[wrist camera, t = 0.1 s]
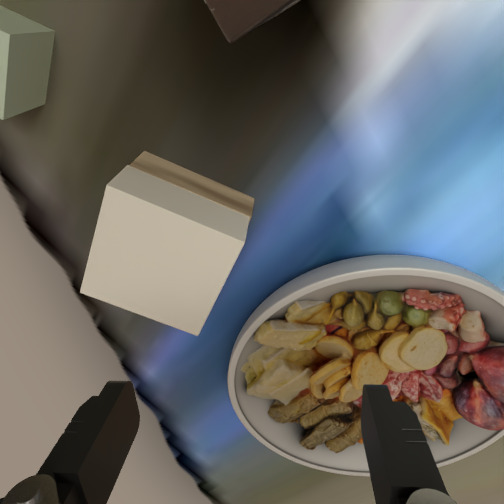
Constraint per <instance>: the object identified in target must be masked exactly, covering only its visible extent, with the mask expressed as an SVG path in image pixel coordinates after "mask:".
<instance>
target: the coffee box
mask: <svg viewBox="0 0 504 504" xmlns="http://www.w3.org/2000/svg"><path fill="white" fill-rule="evenodd" d="M299 1H300V0H204V2H205V3H206V5H207V6H208V8H209V10H210V12H211V14H212V16H213V17H214V19H215V21H216V22H217V24H218V25H219V27H220V29H221V30H222V32H223V34H224V36H225V37H226V39H227V41H228V42H229V43H230V44H231V43H234V42H235V41H237V40H238V39H240V38H241V37H243V36H244V35H246V34H247V33H249V32H250V31H252V30H253V29H255V28H256V27H258V26H260V25H262V24H263V23H265V22H267V21H268V20H270V19H272V18H274V17H275V16H277V15H278V14H280V13H282V12H283V11H285V10H286V9H288V8H289V7H291V6H293V5H294V4H296V3H297V2H299Z"/></svg>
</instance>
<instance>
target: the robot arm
mask: <svg viewBox="0 0 504 504" xmlns="http://www.w3.org/2000/svg"><path fill="white" fill-rule="evenodd" d="M139 421H140V415H139V409H138V405H137V401H136V397H135V392H134V388H133V384H132V382H131V381H108V382H107V383H106V385H105V386H104V388H103V390H102V391H101V393H100V395H99V396H92V397H91V398H90V399H89V400H87V401H86V402H85V403H84V404H83V405H82V406H80V407H79V409H78V411H77V412H76V414H75V415H74V417H73V418H72V420H71V423H69V425H68V426H67V428H66V429H65V432H64V433H63V434H62V435H61V437H60V438H59V440H58V442H57V443H56V445H55V446H54V448H53V449H52V451H51V453H50V454H49V456H48V457H47V459H46V460H45V462H44V464H43V465H42V466H41V468H40V470H39V471H38V473H37V474H36V475H34V476H31V477H28V478H27V479H25V480H23V481H21V482H20V483H18V484H17V485H16V486H14V487H13V488H12V489H11V490H10V491H9V492H8V494H7V495H6V496H5V497H4V498H1V499H0V504H106V503H107V501H108V499H109V496H110V494H111V492H112V489H113V487H114V485H115V482H116V480H117V478H118V476H119V473H120V471H121V469H122V466H123V464H124V462H125V459H126V457H127V455H128V452H129V450H130V448H131V445H132V443H133V441H134V438H135V436H136V434H137V431H138V428H139ZM361 432H362V439H363V444H364V449H365V453H366V458H367V463H368V468H369V472H370V477H371V482H372V487H373V491H374V496H375V501H376V504H457V503H456V502H455V501H454V500H453V499H452V498H451V497H450V496H449V494H448V492H447V490H446V488H445V486H444V483H443V480H442V478H441V475H440V473H439V470H438V468H437V465H436V463H435V460H434V457H433V455H432V452H431V450H430V447H429V445H428V444H427V439H426V437H425V434H424V432H423V431H422V427H421V424H420V422H419V419H418V416H417V414H416V413H415V412H414V411H413V410H412V409H411V408H410V406H409V405H408V404H407V403H406V402H399V401H393V400H392V397H391V394H390V391H389V388H388V386H387V385H372V384H364V385H363V392H362V407H361Z"/></svg>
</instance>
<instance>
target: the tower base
mask: <svg viewBox="0 0 504 504" xmlns="http://www.w3.org/2000/svg"><path fill="white" fill-rule="evenodd" d="M129 166H131V167H133V168H136V169H138V170H140V171H143V172H145V173H147V174H150V175H152V176H154V177H157V178H159V179H161V180H164V181H166V182H168V183H171V184H173V185H176V186H178V187H180V188H183V189H185V190H187V191H190V192H192V193H194V194H197V195H199V196H201V197H204V198H206V199H208V200H211V201H213V202H215V203H218V204H220V205H222V206H225V207H227V208H229V209H232V210H234V211H236V212H239V213H241V214H243V215H246V216H248V217H250V218H249V221H250V219H251V217H252V211H253V205H254V199H255V198H252V197H250V196H248V195H245V194H243V193H241V192H238V191H236V190H234V189H232V188H229V187H227V186H225V185H222V184H220V183H218V182H215V181H213V180H211V179H209V178H206V177H204V176H202V175H199V174H197V173H195V172H192V171H190V170H188V169H185V168H183V167H181V166H179V165H176V164H174V163H172V162H169V161H167V160H165V159H162V158H160V157H158V156H155V155H153V154H151V153H149V152H146V151H144V152H142V153H141V154H140V155H139V156H138V157H137V158H136V159H135V160H134V161H133V162H132V163H131V164H130V165H129Z"/></svg>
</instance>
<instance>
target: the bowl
mask: <svg viewBox="0 0 504 504" xmlns="http://www.w3.org/2000/svg"><path fill="white" fill-rule="evenodd" d="M364 384H372V385H387V386H388V388H389V391H390V394H391V397H392V400H393V401H399V402H406V403H407V404H408V405H409V406H410V408H411V409H412V410H413V411H414V412H415V413H416V414H417V416H418V419H419V422H420V424H421V427H422V431H423V432H424V434H425V437H426V439H427V444H428V445H429V447H430V450H431V452H432V455H433V457H434V460H435V463H436V465H437V467H441V466H444V465H447V464H450V463H453V462H456V461H458V460H461V459H463V458H466V457H468V456H470V455H472V454H474V453H476V452H478V451H480V450H482V449H484V448H485V447H487V446H489V445H490V444H492V443H494V442H495V441H496V440H498V439H499V438H501V437H502V436H503V435H504V292H503V291H502V290H501V289H499V288H498V287H497V286H495V285H494V284H492V283H491V282H489V281H488V280H486V279H484V278H482V277H481V276H479V275H477V274H475V273H473V272H471V271H468V270H466V269H464V268H461V267H459V266H456V265H453V264H450V263H447V262H443V261H439V260H435V259H431V258H425V257H419V256H411V255H370V256H362V257H355V258H350V259H345V260H341V261H337V262H333V263H330V264H327V265H324V266H321V267H318V268H316V269H313V270H311V271H309V272H306V273H304V274H302V275H300V276H298V277H296V278H295V279H293V280H291V281H289V282H288V283H286V284H285V285H283V286H282V287H280V288H279V289H277V290H276V291H275V292H273V293H272V294H271V295H270V296H269V297H268V298H266V299H265V300H264V301H263V302H262V303H261V304H260V305H259V306H258V307H257V308H256V310H255V311H254V312H253V313H252V314H251V316H250V317H249V318H248V320H247V321H246V323H245V324H244V326H243V327H242V329H241V331H240V333H239V335H238V337H237V339H236V342H235V344H234V347H233V350H232V353H231V358H230V363H229V369H228V391H229V396H230V400H231V403H232V406H233V408H234V410H235V412H236V414H237V416H238V418H239V419H240V421H241V422H242V424H243V425H244V426H245V427H246V429H247V430H248V431H249V432H250V433H251V434H252V435H253V436H254V437H255V438H256V439H257V440H259V441H260V442H261V443H262V444H264V445H265V446H266V447H268V448H269V449H271V450H273V451H274V452H276V453H278V454H279V455H281V456H283V457H285V458H287V459H289V460H292V461H294V462H297V463H299V464H302V465H305V466H308V467H311V468H314V469H318V470H322V471H327V472H332V473H338V474H345V475H355V476H370V472H369V468H368V463H367V458H366V453H365V449H364V444H363V439H362V432H361V407H362V392H363V385H364Z"/></svg>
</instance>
